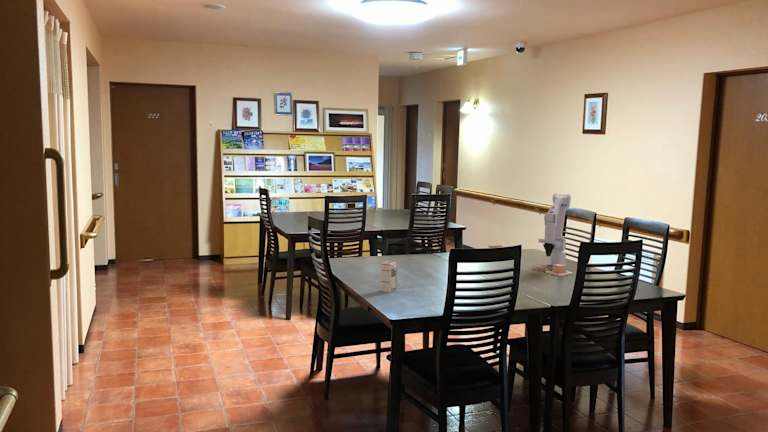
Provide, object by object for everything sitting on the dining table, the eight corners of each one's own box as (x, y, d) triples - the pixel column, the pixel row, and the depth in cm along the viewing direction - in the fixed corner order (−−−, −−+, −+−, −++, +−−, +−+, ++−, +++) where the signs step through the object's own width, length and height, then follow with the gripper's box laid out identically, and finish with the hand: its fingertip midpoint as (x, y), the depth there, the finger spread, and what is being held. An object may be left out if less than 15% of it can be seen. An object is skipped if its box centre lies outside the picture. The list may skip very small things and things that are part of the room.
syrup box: (390, 292, 305) (391, 263, 303) (380, 291, 308) (380, 261, 306) (396, 290, 310) (397, 261, 308) (386, 288, 313) (387, 260, 311)
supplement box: (501, 265, 379) (502, 244, 378) (501, 267, 374) (503, 245, 373) (487, 265, 380) (488, 243, 378) (487, 266, 375) (489, 245, 374)
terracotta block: (558, 272, 365) (558, 263, 365) (565, 273, 361) (565, 265, 361) (552, 273, 362) (552, 264, 362) (559, 274, 358) (559, 266, 358)
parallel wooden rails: (541, 267, 377) (542, 264, 377) (556, 270, 368) (556, 268, 368) (532, 268, 372) (532, 266, 372) (547, 272, 364) (547, 269, 363)
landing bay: (558, 270, 369) (558, 269, 369) (572, 274, 361) (572, 272, 360) (545, 272, 363) (545, 270, 363) (560, 276, 354) (560, 274, 354)
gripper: (535, 232, 370) (534, 254, 371) (555, 235, 358) (553, 259, 360) (543, 231, 374) (542, 253, 375) (563, 234, 362) (561, 257, 364)
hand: (548, 256), depth 368 cm, fingers closed
